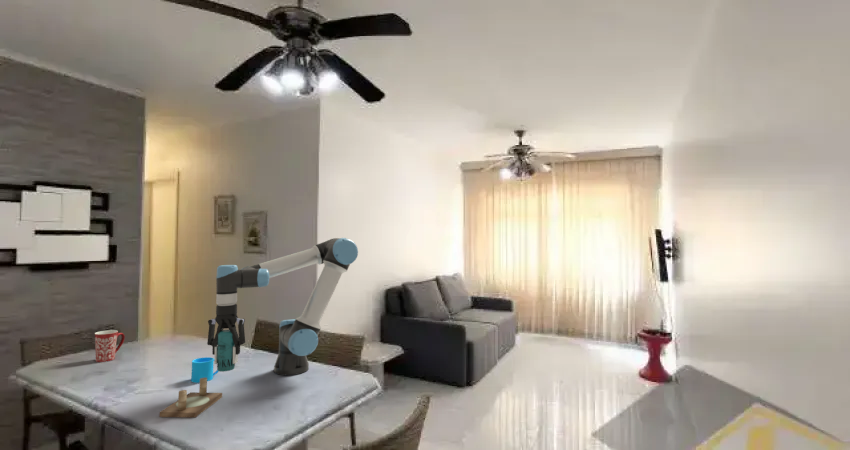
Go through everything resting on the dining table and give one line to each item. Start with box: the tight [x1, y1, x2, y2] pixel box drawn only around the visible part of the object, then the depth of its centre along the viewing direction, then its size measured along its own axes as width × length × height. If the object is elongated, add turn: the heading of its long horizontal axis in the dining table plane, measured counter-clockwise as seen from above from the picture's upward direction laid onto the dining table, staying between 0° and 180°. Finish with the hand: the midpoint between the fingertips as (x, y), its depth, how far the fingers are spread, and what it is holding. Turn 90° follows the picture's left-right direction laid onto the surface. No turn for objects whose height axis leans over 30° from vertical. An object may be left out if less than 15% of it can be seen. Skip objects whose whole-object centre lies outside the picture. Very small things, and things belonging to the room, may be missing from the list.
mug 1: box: [94, 329, 126, 363], centre depth 200 cm, size 13×9×14 cm
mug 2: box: [190, 356, 220, 384], centre depth 175 cm, size 12×8×8 cm
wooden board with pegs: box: [158, 378, 223, 418], centre depth 145 cm, size 12×18×8 cm, turn 0°
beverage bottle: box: [216, 323, 236, 373], centre depth 162 cm, size 6×7×20 cm
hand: (226, 362), depth 162 cm, fingers closed on beverage bottle, 6 cm apart
